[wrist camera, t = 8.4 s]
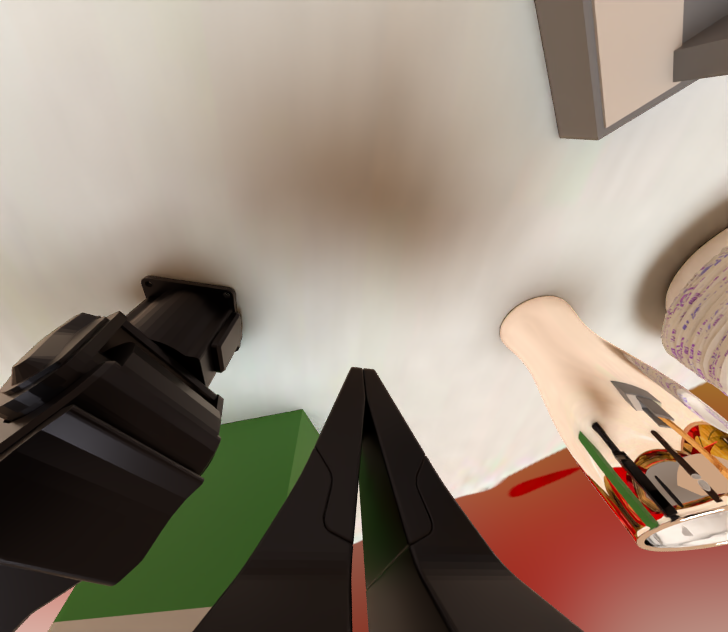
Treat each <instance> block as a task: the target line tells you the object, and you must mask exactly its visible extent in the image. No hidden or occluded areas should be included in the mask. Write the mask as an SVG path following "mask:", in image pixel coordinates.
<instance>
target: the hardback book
mask: <svg viewBox="0 0 728 632" xmlns="http://www.w3.org/2000/svg"><path fill="white" fill-rule="evenodd" d="M219 436H220V437H221V441H220V445H219V447H218V449H217V451H216V453H215V455H214V457H213V459H212V461H211V463H210V464H209V466H208V468H207V469H206V470H205V472H204V473H203V474H202V475H201V477H203V478H204V482H203V484H202V485H201V486H200V487H199V488H198V489H197V490H196V491H195V492H194V493H192V494H191V495H190V496H189V497H188V498H187V499H186V500H185V501H184V503H183V504H182V505H181V506H180V507H179V509H178V510H177V511H176V512H175V513H174V514H173V516H172V517H171V518H170V520H169V521H168V523H167V524H166V526H165V527H164V528H163V530H162V531H161V533H160V534H159V536H158V538H157V539H156V541H155V542H154V544H153V545H152V547H151V548H150V550H149V551H148V553H147V554H146V556H145V557H144V559H143V560H142V561H141V562H140V563H139V564H138V565H137V566H136V567H135V568H134V569H133V570H132V571H131V572H130V573H129V574H127V575H126V576H125V577H124V578H123V579H122V580H121V581H120V582H118V583H117V584H116V585H114V586H106V585H100V584H95V583H90V582H85V581H82V582H80V583H78V584H77V585H76V586H75V587H74V589H73V591H72V592H71V594H70V596H69V597H68V599H67V601H66V602H65V604H64V606H63V607H62V609H61V611H60V612H59V614H58V616H57V617H56V619H55V621H54V622H53V624H52V625H51V627H50V629H49V630H48V632H192V631H193V630H194V629H195V628H196V626H197V625H198V624H199V623H200V621H201V620H202V619H203V618H204V616H205V615H206V614H207V612H208V611H209V610H210V609H211V607H212V606H213V605H214V604H215V602H216V601H217V600H218V599H219V597H220V596H221V595H222V594H223V592H224V591H225V590H226V589H227V587H228V586H229V585H230V584H231V582H232V581H233V580H234V578H235V577H236V576H237V574H238V573H239V572H240V570H241V569H242V567H243V566H244V565H245V563H246V562H247V560H248V559H249V557H250V556H251V554H252V553H253V551H254V550H255V548H256V547H257V545H258V544H259V542H260V540H261V539H262V537H263V536H264V534H265V532H266V531H267V529H268V528H269V526H270V524H271V523H272V521H273V520H274V518H275V516H276V515H277V513H278V512H279V510H280V508H281V507H282V505H283V504H284V502H285V500H286V499H287V497H288V496H289V494H290V492H291V490H292V489H293V487H294V485H295V484H296V482H297V480H298V478H299V477H300V475H301V473H302V471H303V469H304V467H305V465H306V463H307V461H308V459H309V457H310V454H311V452H312V450H313V449H314V446H315V444H316V442H317V440H318V438H319V433H318V432H317V430H316V429H315V427H314V426H313V424H312V423H311V421H310V420H309V418H308V417H307V415H306V414H305V412H304V411H303V409H301V410H296V411H290V412H285V413H280V414H275V415H269V416H264V417H259V418H254V419H248V420H243V421H238V422H232V423H227V424H222V425H220V432H219Z"/></svg>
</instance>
